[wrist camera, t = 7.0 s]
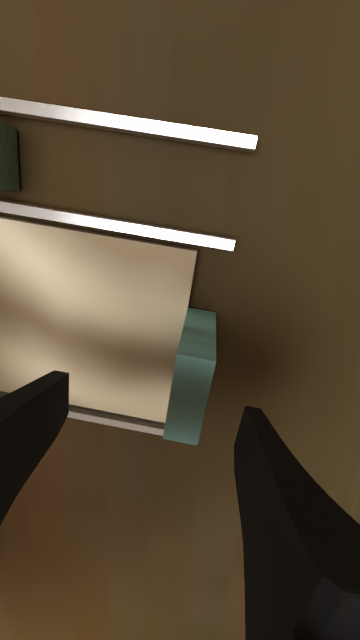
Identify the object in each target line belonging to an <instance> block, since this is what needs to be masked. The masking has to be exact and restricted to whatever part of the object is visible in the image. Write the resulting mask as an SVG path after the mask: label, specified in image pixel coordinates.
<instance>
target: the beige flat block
mask: <svg viewBox="0 0 360 640" xmlns="http://www.w3.org/2000/svg"><path fill="white" fill-rule="evenodd" d="M197 251H198V249H195V248H189V247H183V246H177V245H171V244H165V243H159V242H153V241H147V240H141V239H135V238H129V237H124V236H118V235H112V234H106V233H100V232H94V231H88V230H82V229H76V228H70V227H64V226H58V225H53V224H47V223H41V222H35V221H29V220H23V219H17V218H11V217H5V216H0V391H4V392H9V393H11V392H13V391H15V390H17V389H19V388H20V387H22V386H24V385H26V384H28V383H30V382H32V381H34V380H36V379H38V378H40V377H42V376H44V375H46V374H48V373H50V372H52V371H54V370H56V371H62V372H67V373H69V404H71V405H76V406H81V407H86V408H91V409H96V410H101V411H107V412H112V413H117V414H122V415H127V416H132V417H137V418H143V419H148V420H153V421H158V422H163V423H165V427H164V433H163V439H166V440H171V441H176V442H181V443H186V444H191V445H197V446H198V441H199V437H200V432H201V428H202V423H203V419H204V415H205V410H206V406H207V401H208V397H209V392H210V388H211V383H212V379H213V374H214V370H215V366H216V312H211V311H205V310H200V309H194V308H189V307H188V304H189V299H190V293H191V287H192V281H193V275H194V269H195V263H196V257H197Z"/></svg>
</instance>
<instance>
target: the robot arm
mask: <svg viewBox="0 0 360 640" xmlns="http://www.w3.org/2000/svg"><path fill="white" fill-rule="evenodd" d="M68 414H69V373H67V372H62V371H56V370H54V371H52V372H50V373H48V374H46V375H44V376H42V377H40V378H38V379H36V380H34V381H32V382H30V383H28V384H26V385H24V386H22V387H20V388H19V389H17V390H15V391H13V392H11V393H9V394H7V395H4V396H2V397H0V525H1V523H2V521H3V519H4V517H5V516H6V514H7V512H8V510H9V508H10V507H11V505H12V503H13V501H14V500H15V498H16V496H17V495H18V493H19V491H20V490H21V488H22V487H23V485H24V484H25V482H26V481H27V479H28V478H29V476H30V475H31V473H32V472H33V471H34V469H35V468H36V466H37V465H38V463H39V462H40V460H41V459H42V458H43V456H44V455H45V453H46V452H47V450H48V449H49V447H50V446H51V444H52V443H53V441H54V440H55V438H56V437H57V435H58V433H59V432H60V430H61V428H62V426H63V424H64V422H65V420H66V418H67V416H68ZM234 471H235V480H236V488H237V495H238V503H239V511H240V518H241V526H242V536H243V551H244V578H245V632H246V640H360V525H359V524H358V523H357V522H356V521H355V520H354V519H353V518H352V517H351V516H349V515H348V514H347V513H346V512H345V511H344V510H343V509H342V508H341V507H340V506H339V505H338V504H337V503H336V502H335V501H334V500H333V499H332V498H331V497H330V496H329V495H328V494H327V493H326V492H325V491H324V490H323V489H322V488H321V487H320V486H319V485H318V484H317V483H316V482H315V481H314V479H313V478H312V477H311V476H310V475H309V474H308V473H307V471H306V470H305V469H304V468H303V467H302V465H301V464H300V463H299V462H298V460H297V459H296V458H295V457H294V455H293V454H292V453H291V452H290V450H289V449H288V448H287V446H286V445H285V443H284V442H283V441H282V439H281V438H280V436H279V435H278V434H277V432H276V431H275V429H274V428H273V426H272V425H271V423H270V422H269V420H268V419H267V417H266V416H265V414H264V413H263V411H262V410H261V409H260V408H255V407H249V406H245V409H244V412H243V416H242V419H241V423H240V426H239V430H238V433H237V437H236V441H235V444H234Z"/></svg>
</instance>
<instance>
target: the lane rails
mask: <svg viewBox="0 0 360 640" xmlns="http://www.w3.org/2000/svg"><path fill="white" fill-rule="evenodd" d="M0 114H2V115H9V116H15V117H22V118H28V119H35V120H41V121H48V122H54V123H60V124H67V125H73V126H80V127H86V128H93V129H99V130H106V131H112V132H119V133H125V134H132V135H138V136H145V137H151V138H158V139H164V140H171V141H177V142H183V143H190V144H196V145H203V146H209V147H216V148H222V149H229V150H235V151H242V152H248V153H252V152H253V151H254V150H255V148H256V143H257V138H258V136H255V135H249V134H242V133H235V132H229V131H222V130H216V129H209V128H202V127H196V126H189V125H183V124H176V123H170V122H163V121H156V120H150V119H143V118H137V117H130V116H124V115H117V114H110V113H104V112H97V111H91V110H84V109H77V108H71V107H64V106H58V105H51V104H45V103H38V102H31V101H25V100H18V99H12V98H5V97H0ZM0 190H1V191H20V187H19V167H18V147H17V129H14V128H11V127H9V126H6V125H3V124H0ZM0 212H4V213H10V214H16V215H22V216H28V217H34V218H40V219H46V220H52V221H58V222H63V223H69V224H75V225H81V226H87V227H93V228H99V229H105V230H111V231H117V232H123V233H129V234H135V235H141V236H147V237H152V238H158V239H164V240H170V241H176V242H182V243H188V244H194V245H200V246H206V247H212V248H218V249H224V250H230V251H233V250H234V245H235V239H234V238H232V237H226V236H220V235H214V234H208V233H202V232H196V231H190V230H184V229H178V228H172V227H166V226H160V225H154V224H148V223H142V222H136V221H130V220H124V219H118V218H112V217H106V216H100V215H94V214H88V213H82V212H76V211H70V210H64V209H58V208H52V207H46V206H40V205H34V204H28V203H22V202H16V201H10V200H4V199H0ZM7 394H9V392H4V391H0V397H2V396H4V395H7ZM67 417H69V418H74V419H79V420H84V421H89V422H95V423H100V424H105V425H110V426H115V427H120V428H125V429H130V430H135V431H140V432H146V433H151V434H156V435H161V436H163V433H164V427H165V423H163V422H158V421H153V420H148V419H143V418H137V417H132V416H127V415H122V414H117V413H112V412H107V411H101V410H96V409H91V408H86V407H81V406H76V405H71V404H69V414H68V416H67Z"/></svg>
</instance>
